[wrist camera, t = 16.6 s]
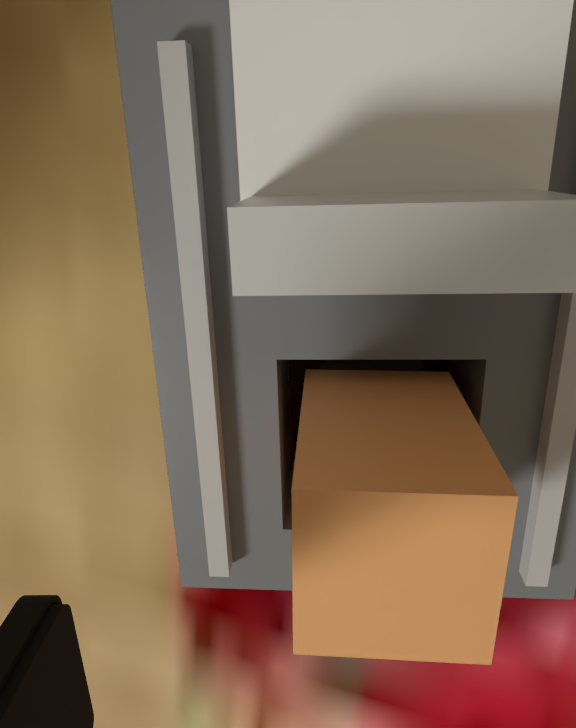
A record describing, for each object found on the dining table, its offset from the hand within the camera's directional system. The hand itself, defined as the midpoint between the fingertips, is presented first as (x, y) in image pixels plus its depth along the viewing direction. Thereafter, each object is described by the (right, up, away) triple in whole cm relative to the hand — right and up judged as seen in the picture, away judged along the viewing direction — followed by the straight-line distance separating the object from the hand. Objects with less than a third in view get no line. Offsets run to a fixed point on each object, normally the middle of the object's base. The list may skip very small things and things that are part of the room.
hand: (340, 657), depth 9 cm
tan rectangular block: (+2, +4, +10) cm, 10 cm away
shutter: (+1, +11, +2) cm, 11 cm away
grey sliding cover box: (+2, +7, +8) cm, 11 cm away
